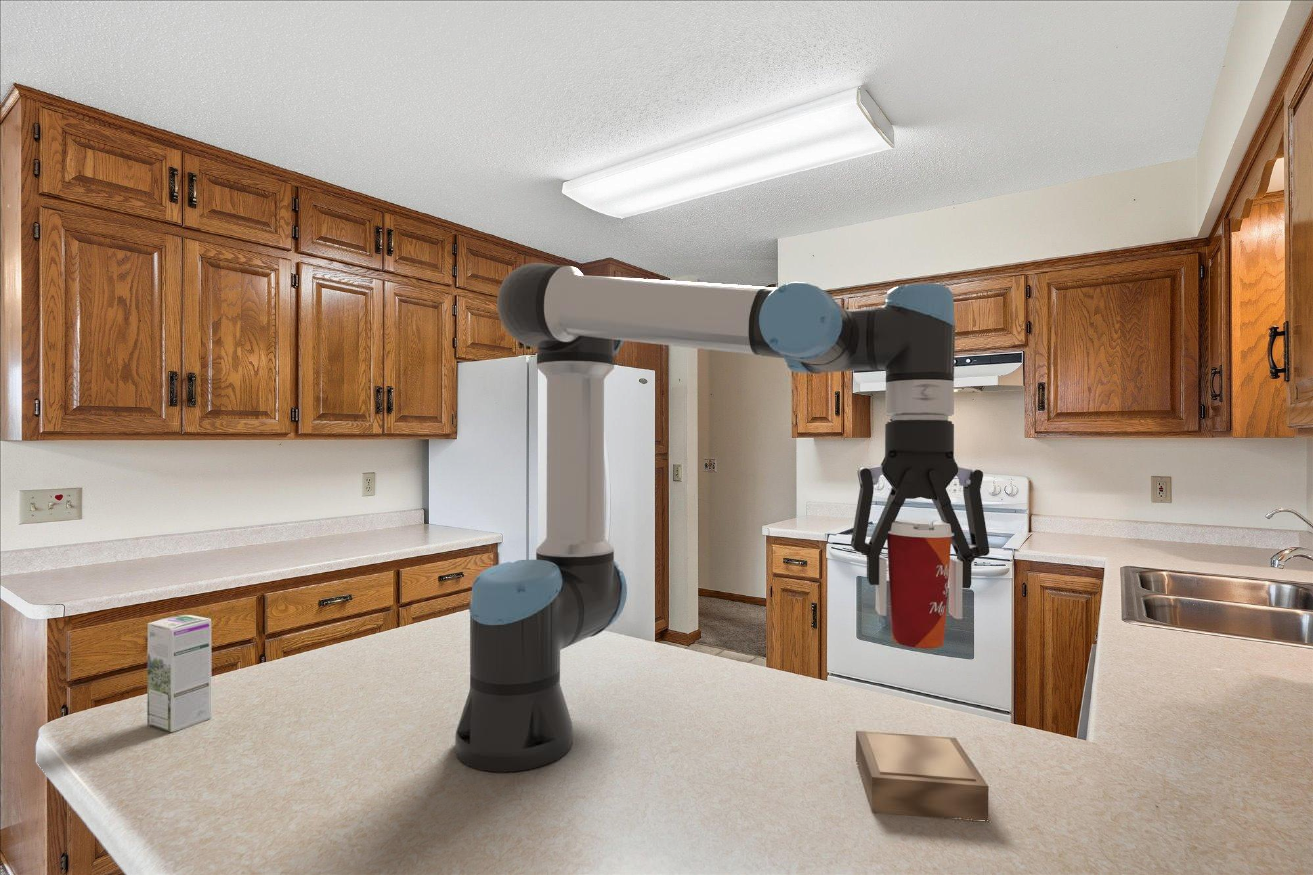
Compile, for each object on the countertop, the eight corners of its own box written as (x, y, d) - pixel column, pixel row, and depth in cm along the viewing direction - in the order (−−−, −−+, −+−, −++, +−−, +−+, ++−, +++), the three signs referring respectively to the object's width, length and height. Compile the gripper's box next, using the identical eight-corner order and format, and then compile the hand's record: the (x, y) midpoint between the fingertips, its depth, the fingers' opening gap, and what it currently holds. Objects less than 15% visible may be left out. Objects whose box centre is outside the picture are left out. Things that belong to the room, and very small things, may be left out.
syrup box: (213, 718, 97) (214, 616, 97) (168, 734, 91) (170, 626, 92) (188, 711, 99) (190, 612, 99) (144, 726, 94) (145, 621, 94)
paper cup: (960, 653, 74) (961, 526, 75) (887, 648, 76) (888, 524, 76) (945, 634, 82) (946, 518, 82) (879, 629, 84) (880, 516, 84)
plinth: (871, 811, 74) (872, 775, 74) (855, 760, 86) (856, 729, 86) (988, 821, 72) (988, 784, 72) (955, 768, 84) (955, 736, 84)
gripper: (832, 417, 77) (831, 618, 77) (1025, 418, 74) (1024, 627, 74) (826, 419, 84) (824, 602, 84) (1000, 420, 81) (999, 610, 81)
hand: (917, 614), depth 79 cm, fingers closed on paper cup, 8 cm apart
